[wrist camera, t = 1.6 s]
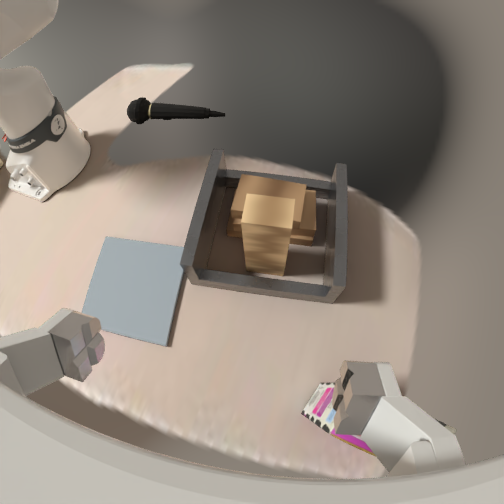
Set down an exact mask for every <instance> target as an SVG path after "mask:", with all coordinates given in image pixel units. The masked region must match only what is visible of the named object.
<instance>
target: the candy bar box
mask: <svg viewBox="0 0 504 504" xmlns="http://www.w3.org/2000/svg"><path fill="white" fill-rule="evenodd" d="M334 386H335V383H320V384H319V386H318V388H317V389H316V391H315V392H314V394H313V396H312V397H311V399H310V400H309V402H308V403H307V405H306V406H305V408H304V409H303V411H302V413H301V414H302V415H304V416H305V417H307V418H308V419H309V420H311V421H312V422H314V423H315V424H316V425H317V426H319V427H320V428H322V429H323V430H325V431H326V432H327V433H329V434H330V435H332V436H334V437H336V438H338V439H340V440H342V441H343V442H345V443H347V444H349V445H352V446H354V447H356V448H358V449H360V450H362V451H365V452H367V453H369V454H371V455H374V456H375V454H374V453H373V452H372V450H371V449H370V448H369V447H368V445H367V444H366V443H365V442H364V440H363V439H362V438H361V435H340V434H335V429H334V416H335V414H336V411H335V410H334V409H333V405H332V396H333V390H334ZM435 420H436V419H435ZM436 421H438V420H436ZM438 422H439V423H440V424H441V425H443V426H444V427H445V428H446V429H448V430H449V431H450V432H451V433H453V434H454V435H455V433H456V431H457V430H456V429H454V428H453V427H450V426H448V425H446V424H444V423H442V422H440V421H438Z"/></svg>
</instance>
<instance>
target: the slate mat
mask: <svg viewBox="0 0 504 504" xmlns="http://www.w3.org/2000/svg"><path fill="white" fill-rule="evenodd" d="M183 249H184V247H179V246H172V245H164V244H157V243H150V242H142V241H135V240H128V239H120V238H113V237H106V238H105V241H104V243H103V246H102V249H101V252H100V255H99V258H98V261H97V264H96V267H95V270H94V273H93V276H92V279H91V282H90V285H89V289H88V292H87V295H86V299H85V302H84V306H83V310H82V313H84V314H87V315H90V316H93V317H96V318H98V319H99V320H100V323H101V330H104V331H108V332H111V333H115V334H119V335H122V336H126V337H130V338H134V339H138V340H142V341H146V342H150V343H154V344H158V345H163V346H167V344H168V339H169V335H170V330H171V325H172V321H173V316H174V312H175V308H176V303H177V299H178V295H179V291H180V287H181V282H182V278H183V274H184V271H183V269H182V267H181V266H180V261H181V257H182V253H183Z"/></svg>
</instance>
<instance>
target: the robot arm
mask: <svg viewBox="0 0 504 504" xmlns="http://www.w3.org/2000/svg"><path fill="white" fill-rule="evenodd" d="M57 7H58V0H0V60H1V59H2V58H3V57H5V56H6V55H8V54H9V53H10V52H12V51H13V50H14V49H16V48H17V47H19V46H20V45H22V44H23V43H24V42H26V41H28V40H29V39H31V38H32V37H33V36H34V35H36V34H37V33H38V32H39V31H40V30H42V29H43V28H44V27H45V26H46V25H47V24H49V23H50V22H51V21H52V20H53V18H54V16H55V14H56V11H57ZM0 127H1V128H2V130H3V131H4V132H5V135H4V137H5V136H6V138H5V140H4V142H5V141H6V140H7V141H8V144H9V147H10V152H9V155H8V157H7V161H6V168H7V170H8V171H9V173H10V174H11V176H10V180H9V185H8V187H9V188H10V190H12V191H15V192H17V193H20V194H22V195H25V196H27V197H30V198H33V199H35V200H38V201H40V202H43V201H45V200H46V199H47V198H49V197H50V196H51V195H52V194H53V193H54V192H55V191H56V190H58V189H60V188H62V187H63V186H65V185H66V184H68V183H69V182H70V181H72V180H73V179H74V178H75V177H76V176H77V175H78V174H79V173H80V172H81V170H82V169H83V168H84V166H85V165H86V163H87V161H88V159H89V156H90V150H91V149H90V144H89V142H88V141H87V140H86V139H85V138H84V132H83V131H82V129H78V128H77V127H76V125H75V124H74V123H73V121H72V120H71V118H70V117H69V116H68V114H67V113H66V112H65V111H64V110H63V109H62V106H61V104H60V102H59V101H58V100H57V98H56V97H54V96H53V95H52V93H51V91H50V89H49V88H48V86H47V84H46V82H45V80H44V78H43V76H42V74H41V72H40V71H39V70H38V69H37V68H35V67H32V66H21V67H16V68H12V69H1V68H0ZM4 137H3V138H4ZM3 138H2V139H3ZM100 330H101V323H100V320H99V319H98V318H96V317H93V316H90V315H87V314H84V313H80V312H77V311H74V310H71V309H67V308H62V309H61V310H59V311H58V312H57V313H56V314H55V315H53V316H52V317H51V318H50V319H49V320H47V321H46V322H45V323H44V324H43V325H41V326H40V327H39V328H38V329H37V328H32V329H28V330H25V331H21V332H17V333H14V334H10V335H7V336H3V337H0V504H504V454H503V455H500V456H497V457H493V458H490V459H486V460H483V461H479V462H475V463H471V464H467V465H466V463H465V460H464V457H463V454H462V451H461V449H460V446H459V443H458V441H457V438H456V436H455V435H454V434H453V433H451V432H450V431H449V430H448V429H446V428H445V427H444V426H443V425H441V424H440V423H439V422H438V421H436V420H435V419H434V418H432V417H431V416H430V415H429V414H427V413H426V412H425V411H424V410H422V409H421V408H420V407H419V406H417V405H416V404H415V403H414V402H413V401H411V400H410V399H409V398H408V397H406V396H402V394H401V392H400V389H399V386H398V383H397V380H396V377H395V375H394V372H393V369H392V366H391V364H390V363H389V362H358V361H344V362H343V363H342V366H341V368H340V375H341V377H340V378H339V379H338V380H336V383H335V386H334V390H333V396H332V405H333V409H334V410H335V411H336V414H335V416H334V429H335V434H340V435H361V438H362V439H363V440H364V442H365V443H366V444H367V445H368V447H369V448H370V449H371V450H372V452H373V453H374V454H375V456H376V457H377V458H378V459H379V461H380V462H381V463H382V464H383V466H384V467H385V468H386V469H387V471H388V472H389V473H388V475H387V476H386V477H380V478H363V479H311V478H294V477H281V476H271V475H262V474H254V473H246V472H240V471H234V470H228V469H223V468H217V467H212V466H207V465H203V464H198V463H194V462H189V461H185V460H181V459H177V458H174V457H170V456H166V455H163V454H159V453H156V452H152V451H149V450H146V449H143V448H140V447H137V446H134V445H131V444H128V443H125V442H122V441H120V440H117V439H114V438H112V437H109V436H106V435H103V434H101V433H99V432H97V431H94V430H92V429H89V428H87V427H85V426H82V425H80V424H78V423H76V422H73V421H71V420H69V419H67V418H65V417H63V416H61V415H59V414H57V413H55V412H53V411H51V410H48V409H47V408H45V407H43V406H41V405H39V404H37V403H35V402H34V401H32V400H30V399H29V398H27V397H26V395H28V394H30V393H32V392H35V391H36V390H39V389H40V388H42V387H44V386H46V385H48V384H50V383H52V382H54V381H56V380H58V379H60V378H62V377H64V375H65V376H67V377H70V378H73V379H75V380H78V381H81V382H83V381H84V380H85V379H86V378H87V376H88V375H89V374H90V373H91V371H92V365H95V364H97V363H99V361H100V360H101V359H102V357H103V354H104V351H105V343H104V339H103V337H102V336H101V334H100V333H99V332H100Z"/></svg>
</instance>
